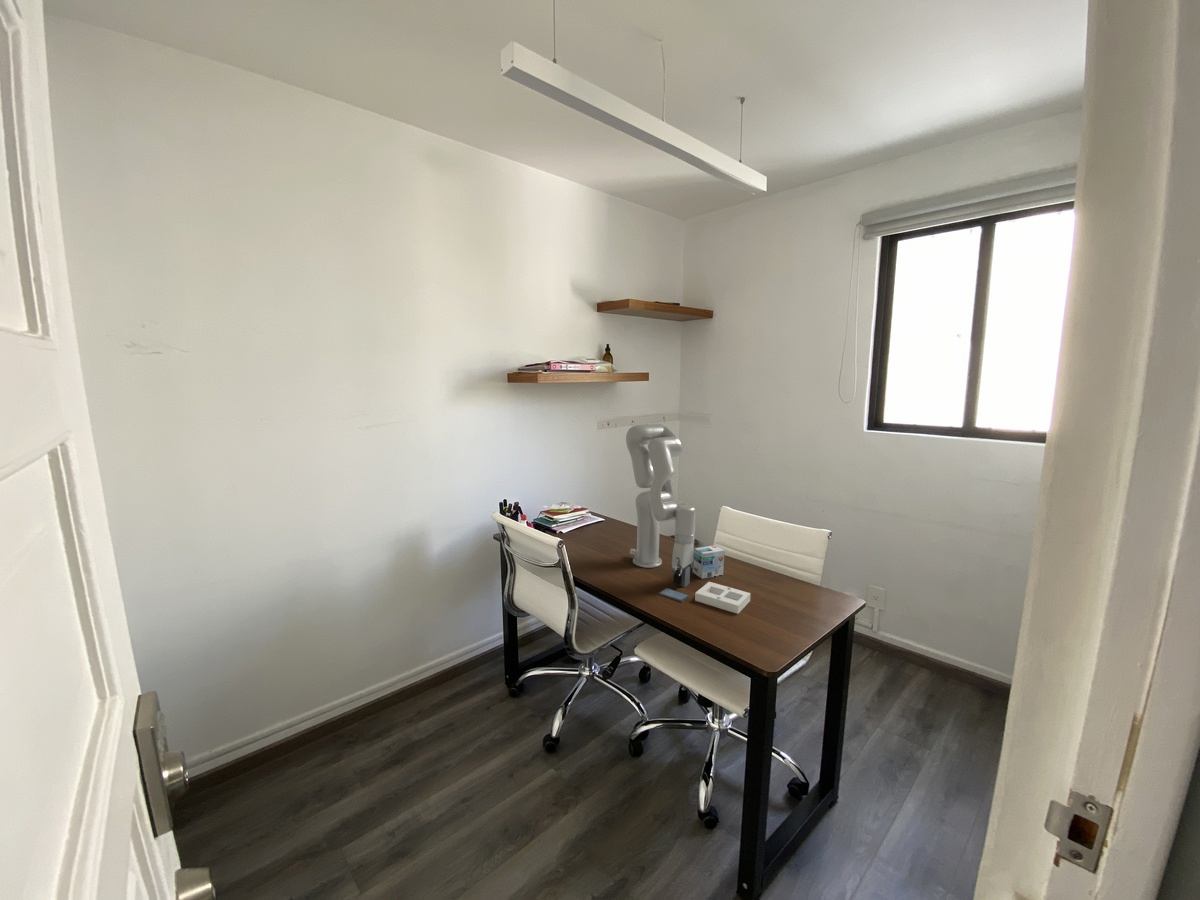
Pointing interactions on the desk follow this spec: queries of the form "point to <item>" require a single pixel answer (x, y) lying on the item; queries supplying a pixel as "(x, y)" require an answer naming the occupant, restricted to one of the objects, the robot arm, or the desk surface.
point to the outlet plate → (723, 597)
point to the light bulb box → (708, 561)
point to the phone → (674, 595)
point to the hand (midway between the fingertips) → (682, 580)
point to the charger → (685, 576)
